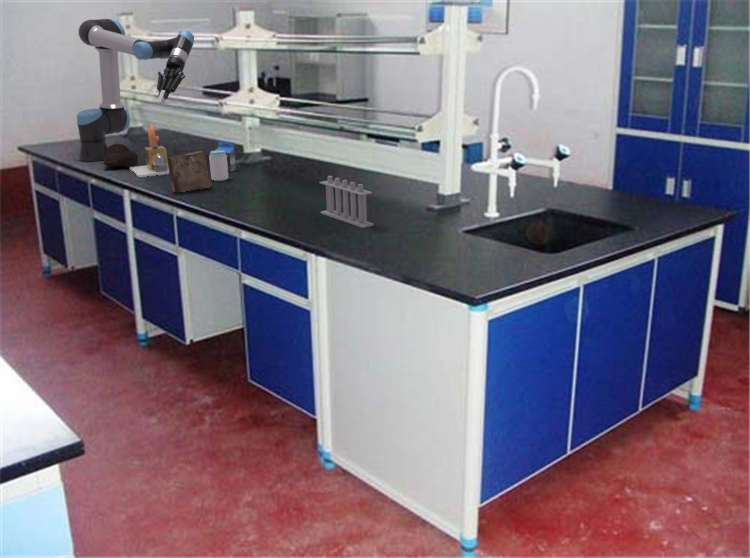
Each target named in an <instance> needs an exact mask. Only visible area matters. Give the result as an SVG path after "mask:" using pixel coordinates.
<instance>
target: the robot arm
mask: <svg viewBox="0 0 750 558" xmlns="http://www.w3.org/2000/svg"><path fill="white" fill-rule="evenodd" d="M78 36H79V40H81V42H82V43H83V44H85V45H87V46H90V47H94V48H95V49H96V51H98V56H99V72H100V84H101V85H100V86H101V100H102V101H101V103H100V104H99V108H90V109H85V110H84V109H83V110H81V111H79V112H78V113H77V115H76V120H77V121H76V124H77V128H78V135H79V140H80V147H79V153H78V159H79V161H81V162H98V161H99V162H100V161H104V160H105V158H106V149H107V148H108V147H109V145H108V144H107V139H106V135H113V134H120V133H122V132H125V131H126V130H127V129H128V128H129V126H130V123H131V116H130V114H129V113H128V110H127V109H126V108H125V105H124V104H123V103H122V101H121V86H120V70H119V69H120V66H119V52H120V53H124V54H128V55H132V56H133V57H135V58H136V59H137V60H139V61H141V60H143V61H146V60H154V59H160V60H163V59H167V61H166V64H165V68H164V69H163V71H158V72H157V75H158V77H157V82H156V83H157V84H156V90H157V91H158V92H159V93H158V95H157V97H158V98H157V100H156V103H157V104H158V106H159V107H164V105H165V103H166V100H167V99H168V98H169V96H170V94H171V93H175V91H176V90H177V88H178V87H179V86H180V84H181V83H182V81H183V79H185V78H186V75H185V73H184V69H185V67H186V66H185V65H186V63H187V61H188V58H189V56H190V54H191V50H192V49H193V46H194V42H195V40H194V38H195V36H194V34H193V33H192V32H191V31H188V30H186V29H182V30H180V31H179V32H178V34H177V36H176V37H175V36H174V37H172V38H169V39H165V40H151V41H150V40H148V41H147V40H144V39H140V38H136V37H133V36H129V35H126V31H125V28H124V26H123V25H122V24H121V22H120V21H118V20H117V19H112V18H100V19H88V20H85V21H83V22H81V24H80V25H79V28H78Z"/></svg>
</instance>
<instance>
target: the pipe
mask: <svg viewBox="0 0 750 558" xmlns="http://www.w3.org/2000/svg"><path fill="white" fill-rule="evenodd" d="M102 164H103V165H105V166H106V167H108V168H117V167H120V166H121V167H122V166H123V167H135V166H138V164H139V159H138V154H137V152H136V151H135V150H130V149H129V147H127V145H124V144H122V143H115V144H111V145H108V148H107V149H106V158H105V160H103V163H102Z"/></svg>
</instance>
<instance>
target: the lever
mask: <svg viewBox="0 0 750 558" xmlns="http://www.w3.org/2000/svg"><path fill="white" fill-rule="evenodd" d="M155 131H156V130H155V125H150V126H149V129H147V135H148V143H149V147H154V146H156V142H157V143H158V142H160V136H159V135H156V132H155Z"/></svg>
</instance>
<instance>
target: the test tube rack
mask: <svg viewBox="0 0 750 558" xmlns="http://www.w3.org/2000/svg"><path fill="white" fill-rule="evenodd" d="M333 179H334V180H333ZM318 183H319V184H321V185H324V186H325V195H326V196H325V198H326V210H321V211H320V214H321V215H324V216H327V217H330V218H332V219H335V220H339V221H341V222H345V223H348V224H351V225H353V226H357V227H358V228H361V229H364V228H369V227H373V226H374V225H375V223H373V222H370V221H368V219H367V217H368V216H367V195H371V194H373V192H372V191H370V190H366V189H364V185H363V184H362V183H360V184H359V183H358V184H357V186H356V182H354V181H350V182H349V183H348V180H347V179H343V180H342V181H341V179H340V177H336V178H333V176H332V175H328V176H327V180H323V181H319V182H318ZM334 191H335V192H334ZM341 191H342V192H341ZM334 193H335V195H334ZM341 193H342V195H341ZM356 195H357V199H356ZM334 196H335V201H334ZM349 196H350V197H349ZM341 197H342V199H341ZM349 198H350V201H349ZM356 201H357V202H358V204H357V202H356ZM349 202H350V207H349ZM357 205H358V206H357ZM357 207H358V217H357ZM342 208H343V212H342ZM349 208H350V214H349Z"/></svg>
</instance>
